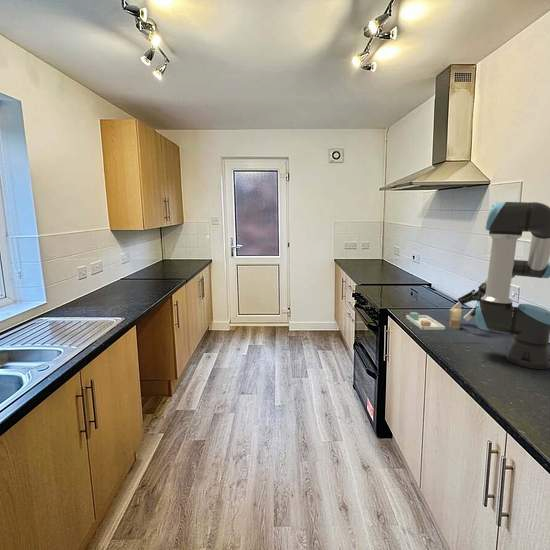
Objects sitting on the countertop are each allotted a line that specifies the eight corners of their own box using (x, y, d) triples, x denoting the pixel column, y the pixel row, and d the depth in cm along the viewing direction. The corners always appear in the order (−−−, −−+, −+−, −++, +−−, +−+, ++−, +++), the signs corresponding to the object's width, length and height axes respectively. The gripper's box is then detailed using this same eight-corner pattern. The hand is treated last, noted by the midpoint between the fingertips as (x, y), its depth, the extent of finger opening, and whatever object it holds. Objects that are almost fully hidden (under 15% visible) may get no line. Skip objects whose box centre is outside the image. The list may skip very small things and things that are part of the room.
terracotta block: (430, 328, 188) (430, 322, 187) (423, 328, 188) (424, 322, 187) (427, 326, 191) (427, 320, 191) (420, 326, 191) (421, 320, 191)
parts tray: (445, 331, 187) (445, 326, 187) (421, 331, 187) (422, 326, 186) (426, 319, 208) (426, 315, 207) (405, 319, 207) (405, 315, 207)
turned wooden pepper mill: (461, 330, 189) (463, 310, 187) (452, 330, 189) (454, 310, 187) (456, 327, 194) (458, 307, 192) (447, 327, 194) (449, 307, 192)
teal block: (418, 320, 203) (418, 314, 202) (412, 320, 202) (412, 314, 202) (415, 318, 206) (416, 312, 205) (409, 318, 206) (410, 312, 205)
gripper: (510, 298, 177) (476, 328, 180) (480, 287, 202) (450, 313, 204) (500, 287, 176) (466, 317, 178) (471, 277, 201) (442, 304, 203)
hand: (458, 315), depth 191 cm, fingers open, 13 cm apart
